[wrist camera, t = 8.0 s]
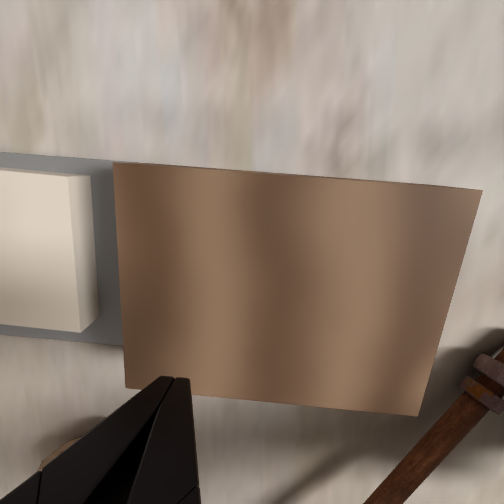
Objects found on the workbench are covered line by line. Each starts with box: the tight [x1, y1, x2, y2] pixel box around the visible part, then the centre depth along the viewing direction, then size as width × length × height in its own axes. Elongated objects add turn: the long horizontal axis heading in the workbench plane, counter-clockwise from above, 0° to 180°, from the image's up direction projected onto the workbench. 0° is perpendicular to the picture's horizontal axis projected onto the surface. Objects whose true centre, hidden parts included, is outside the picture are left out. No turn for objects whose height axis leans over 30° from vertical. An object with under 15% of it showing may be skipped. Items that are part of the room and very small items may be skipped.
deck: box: [113, 162, 483, 417], centre depth 16 cm, size 16×12×4 cm
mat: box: [0, 152, 137, 346], centre depth 18 cm, size 10×12×1 cm
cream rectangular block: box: [0, 167, 99, 333], centre depth 17 cm, size 6×9×2 cm, turn 175°
